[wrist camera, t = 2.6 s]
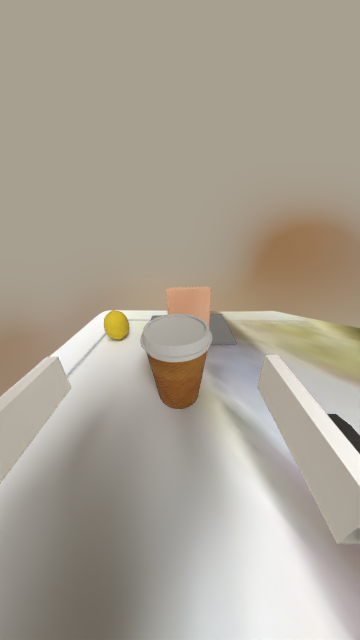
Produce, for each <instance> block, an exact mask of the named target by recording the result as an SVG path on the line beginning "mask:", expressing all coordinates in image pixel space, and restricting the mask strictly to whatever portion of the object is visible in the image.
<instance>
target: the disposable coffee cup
mask: <svg viewBox="0 0 360 640" xmlns="http://www.w3.org/2000/svg"><path fill="white" fill-rule="evenodd" d="M211 342H212V334H211V332H210V330H209V326H208V324H207V323H206V322H205V321H204V320H203V319H201V318H199V317H196V316H193V315H187V314H169V315H164V316H160V317H157V318H155V319H153V320H151V321H149V322H148V323H147V324H146V325H145V327H144V329H143V334H142V336H141V345H142V347H143V348H144V349H145V351H146V352H147V355H148V359H149V362H150V365H151V368H152V372H153V375H154V378H155V381H156V385H157V388H158V391H159V394H160V398H161V400H162V401H163V403H164V404H165V405H167V406H169V407H171V408H175V409H182V408H186V407H189V406H190V405H192V404H193V403H194V402H195V401H196V399H197V397H198V393H199V388H200V383H201V379H202V373H203V369H204V364H205V359H206V354H207V349H208V348H209V346H210V344H211Z"/></svg>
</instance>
